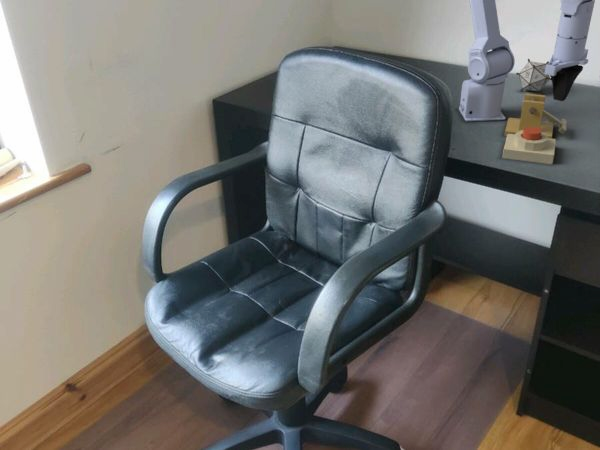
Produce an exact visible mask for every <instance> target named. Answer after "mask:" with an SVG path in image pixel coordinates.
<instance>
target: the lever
mask: <svg viewBox="0 0 600 450" xmlns="http://www.w3.org/2000/svg"><path fill="white" fill-rule="evenodd" d="M530 101H538V100H536V99H535V98H533V97H531V98H530ZM542 118H545V119H546V120H548V122H552V123H554V125H555V126H557V127H558V132H559V133H560V134H561V135H564V133H566V131H567V126H568V125H567V124H568V121H567V120H566V119H565V118H561V120H560V119H558V118H557V117H556V116H554V115H553V114H551V113H550V112H548V111H547V110H545V109H543V114H542Z"/></svg>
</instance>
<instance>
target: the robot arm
mask: <svg viewBox="0 0 600 450" xmlns="http://www.w3.org/2000/svg"><path fill="white" fill-rule="evenodd" d="M595 2H596V0H560V16H559V21H558V28H557V33H556V39H555V44H554V49H553V54H552V55H551V57H550V60H549V63H548V64H547V65H546V68H545V74H546V75H549V76H550V78H551V80H550V81H551V84H552V97H553V100H555V101H559V102H564V101H566V99H567V97H568V95H569V93H570V91H571V89H572V87H573V85H574V83H575V81H576V79H577V78H578V77H579V75H580V74H581V73H582V71H583V70H584V66H585V65H587V64H588V63H589V59H588V53H589V49H588V48H586V44H587V40H588V37H589V31H590V26H591V22H592V17H593V12H594V7H595ZM469 7H470V13H471V19H472V20H471V21H472V25H473V33H474V39H475V41H474V42H473V44H472V45H471V47H470V48H469V50H468V52H467V53H468V63H467V72H468V75H469V76H470V79H466V80H463V82H462V83H461V84H462V85H461V90H460V102H459V107H458V111H459V112H460V114H461V115H462V117H463V119H464V121H465V122H486V121H487V122H488V121H505V120H506V119H507V117H506V116H505V115H504V114H503V112H502V105H503V99H504V98H503V97H504V91H505V85H506V84H505V83H506V79H508V74H510V73H511V72H512V71H513V69H514V67H515V61H516V60H515V59H516V58H515V55H514V53H513V52H512V50H511V48H510V42H509V41H508V40H507V38H505V37H504V36H502V35H501V31H500V25H499V24H500V23H499V17H498V11H497V2H496V0H469Z"/></svg>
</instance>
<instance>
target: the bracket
mask: <svg viewBox="0 0 600 450" xmlns="http://www.w3.org/2000/svg"><path fill="white" fill-rule="evenodd" d="M531 97H533V98H535V99H536V100H538V101H530V98H531ZM546 97H547V96H546V95H545V94H541V95H540V94H534V93H524V97H523V101H522V107H521V111H520V112H521V113H520V118H518V117H517V118H515V117H508V119H507V121H506V122H507V123H506V127H505V130H504V135H503V136H505V137H507V134H514V135H515V134H516V133H517V132H519V131H521V130H523V129H524V128H526V127H536V128H539V129H541V131H542V133H545V134H546V135H547V136H548V138H549V139H553V132H554V125H555V124H554V123H552V122H551V121H544V120H542V119H543V116H542V114H543V109H544V108H545V102H546ZM544 110H545V109H544Z"/></svg>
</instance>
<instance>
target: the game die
mask: <svg viewBox="0 0 600 450" xmlns="http://www.w3.org/2000/svg"><path fill="white" fill-rule="evenodd" d="M549 62H550V60H548V61H546V63H543V62H537V61H531V59H530V58H527V63H526V64H525V66H524V67H523V68H522V70H521V71H520V72H515V75H517V76H518V77H519V80H520V85H521V88H520V89H519V92H523V91H524V90H525V91H526V90H527V91H533V92H538V93H539V94H538V95H542V90H543V88H544V87H545V86H546V85H547V84H548V83H549V81H552V80H551V77H550V75H546V74H545V68H546V65H547V64H548V63H549Z"/></svg>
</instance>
